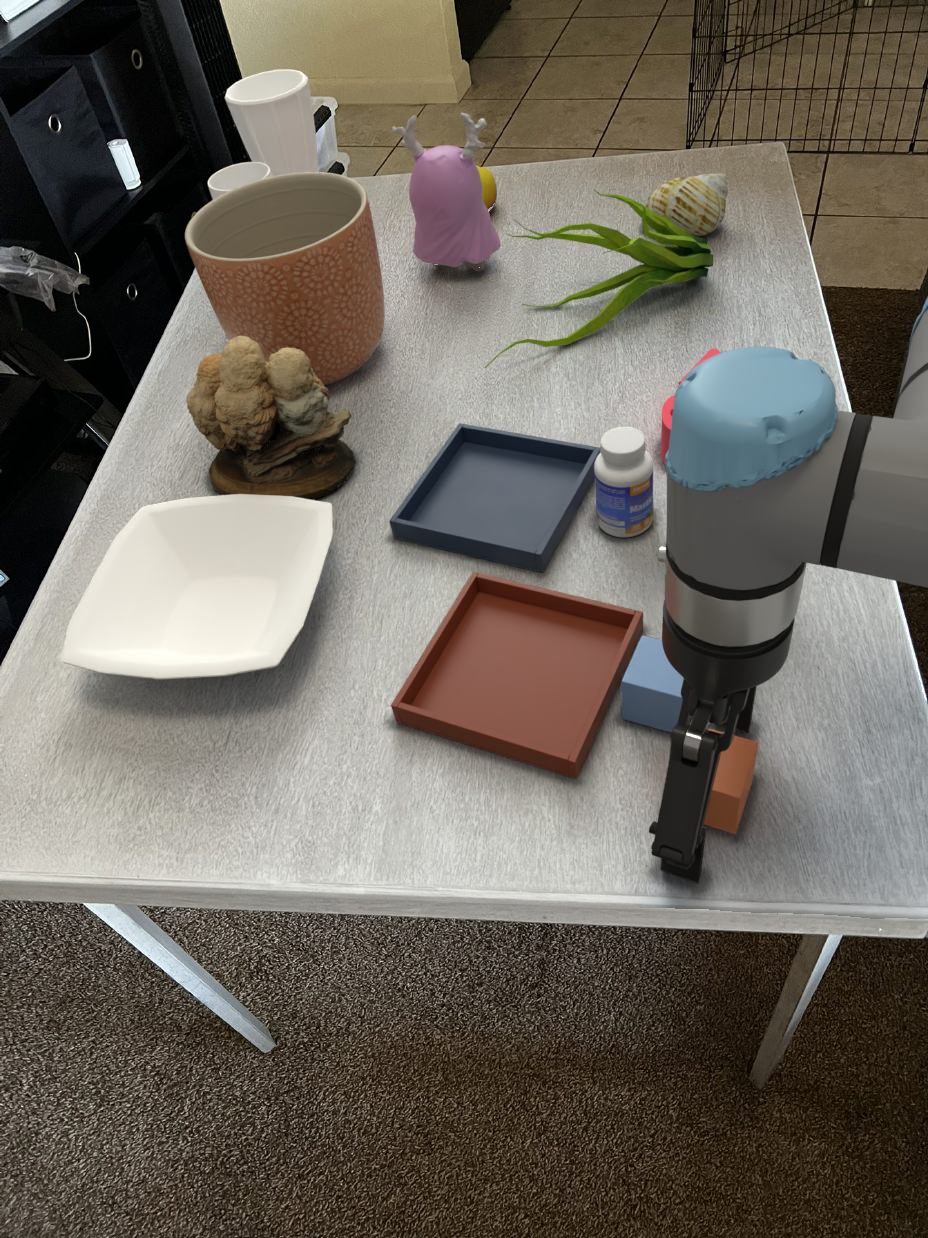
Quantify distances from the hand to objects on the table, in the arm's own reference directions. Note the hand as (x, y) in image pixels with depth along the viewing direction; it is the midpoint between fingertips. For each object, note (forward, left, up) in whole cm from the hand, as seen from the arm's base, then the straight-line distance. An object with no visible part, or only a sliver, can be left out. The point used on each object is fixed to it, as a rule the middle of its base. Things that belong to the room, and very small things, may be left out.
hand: (707, 794), depth 71 cm
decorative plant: (+30, -60, 0) cm, 67 cm away
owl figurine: (+54, -24, 0) cm, 59 cm away
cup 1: (+78, -58, 0) cm, 97 cm away
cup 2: (+81, -72, 0) cm, 108 cm away
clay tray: (+18, -6, 0) cm, 19 cm away
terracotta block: (0, 0, 0) cm, 0 cm away
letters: (+12, -43, 0) cm, 45 cm away
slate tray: (+29, -26, 0) cm, 39 cm away
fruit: (+61, -84, 0) cm, 104 cm away
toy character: (+54, -69, 0) cm, 87 cm away
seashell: (+27, -84, 0) cm, 88 cm away
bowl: (+48, -3, 0) cm, 48 cm away
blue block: (+6, -7, 0) cm, 9 cm away
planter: (+62, -44, 0) cm, 76 cm away
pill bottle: (+16, -27, 0) cm, 31 cm away
